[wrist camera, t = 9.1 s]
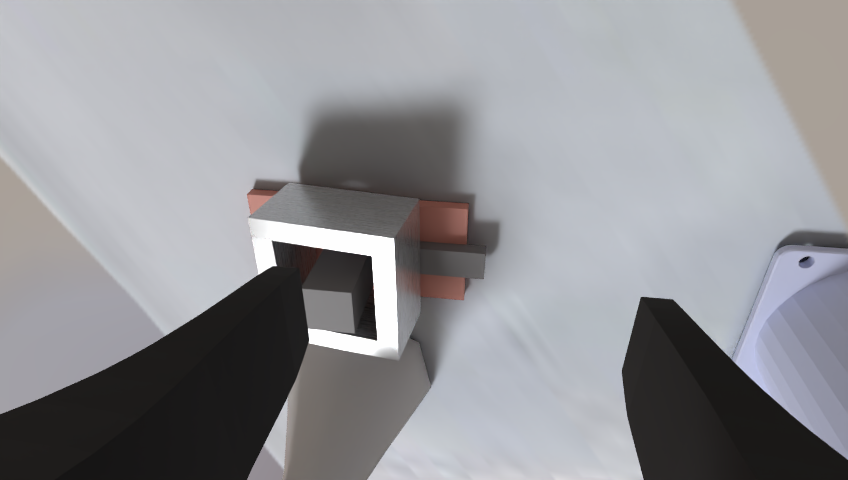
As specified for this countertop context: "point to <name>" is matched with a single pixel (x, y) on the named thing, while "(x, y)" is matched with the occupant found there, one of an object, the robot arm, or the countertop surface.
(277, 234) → the link
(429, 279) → the keeper hook
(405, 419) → the flask
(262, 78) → the countertop surface
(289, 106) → the countertop surface
